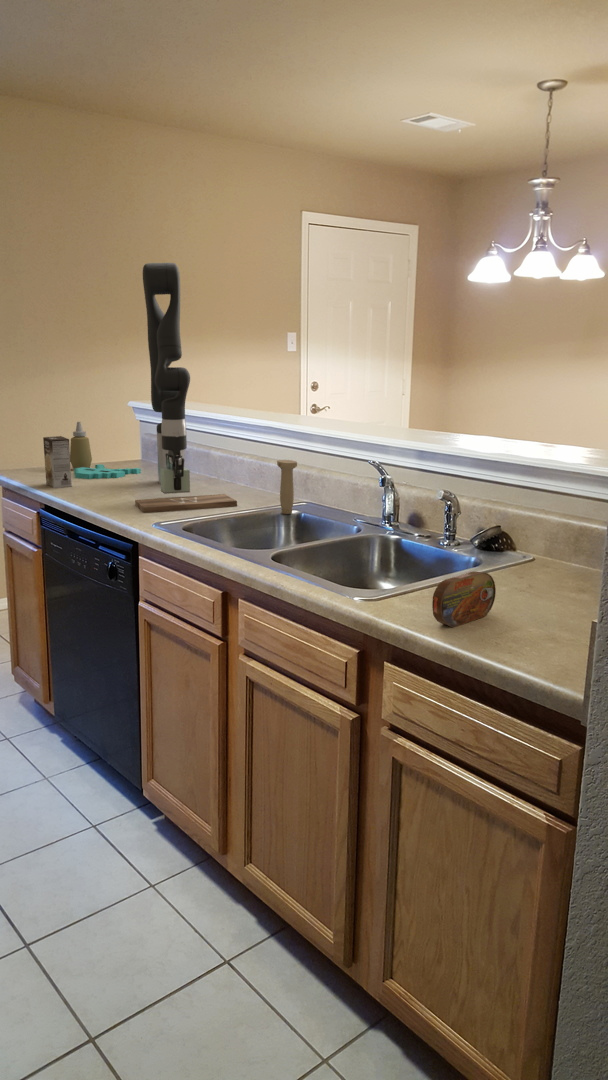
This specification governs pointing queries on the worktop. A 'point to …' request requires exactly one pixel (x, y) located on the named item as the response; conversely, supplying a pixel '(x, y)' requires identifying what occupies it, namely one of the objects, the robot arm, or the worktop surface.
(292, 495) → the handle
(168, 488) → the block
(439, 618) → the tin
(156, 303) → the robot arm
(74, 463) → the squeeze bottle
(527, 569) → the worktop surface
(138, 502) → the walnut board
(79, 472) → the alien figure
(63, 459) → the coffee box
